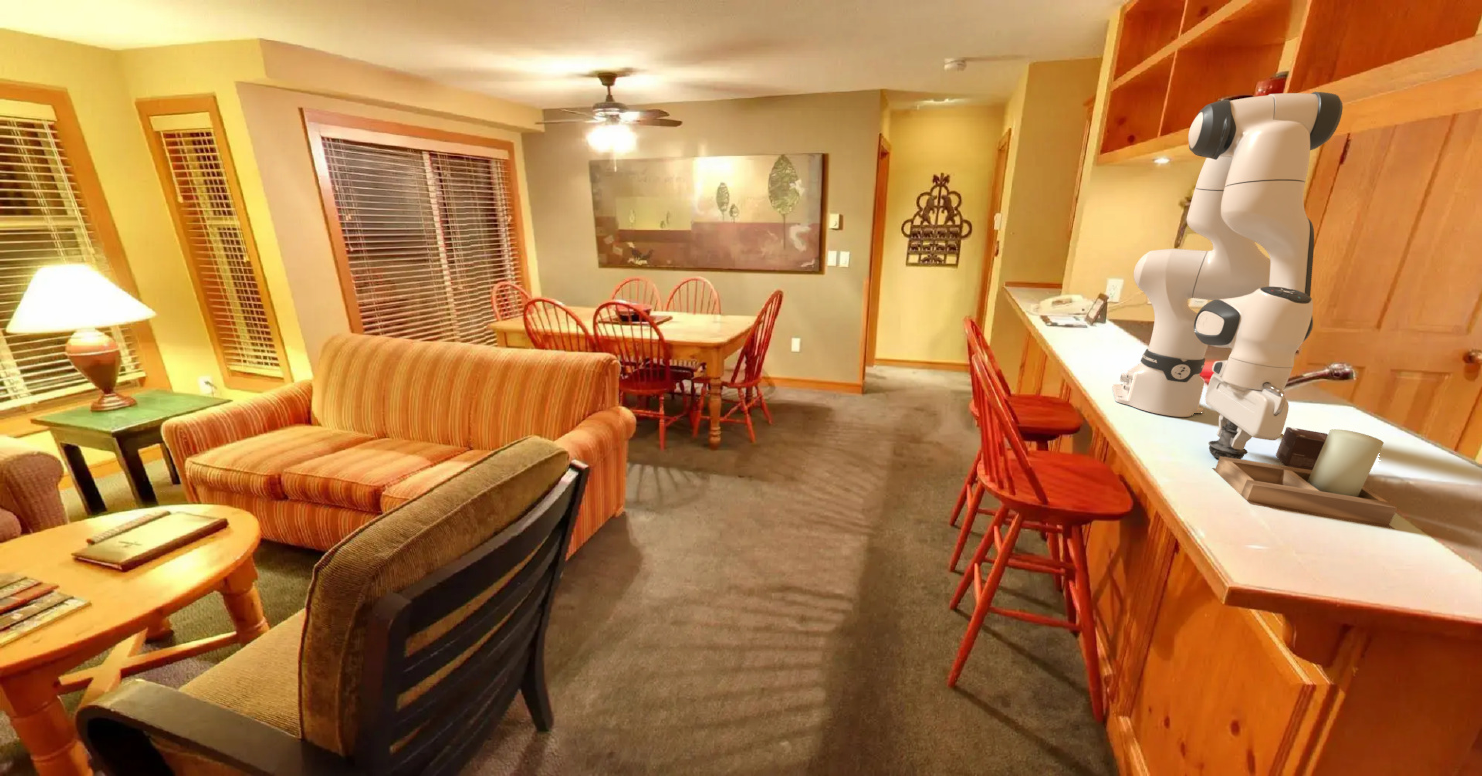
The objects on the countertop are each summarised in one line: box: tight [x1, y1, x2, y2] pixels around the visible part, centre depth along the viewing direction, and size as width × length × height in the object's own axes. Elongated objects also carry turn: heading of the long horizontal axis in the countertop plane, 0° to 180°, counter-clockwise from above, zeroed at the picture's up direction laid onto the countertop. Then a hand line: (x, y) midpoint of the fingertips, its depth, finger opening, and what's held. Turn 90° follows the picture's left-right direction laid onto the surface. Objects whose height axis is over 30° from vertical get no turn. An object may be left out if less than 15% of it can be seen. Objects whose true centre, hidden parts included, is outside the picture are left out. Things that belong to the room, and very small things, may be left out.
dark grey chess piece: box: [1208, 420, 1248, 460], centre depth 104 cm, size 6×6×12 cm
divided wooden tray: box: [1211, 456, 1398, 530], centre depth 92 cm, size 14×18×4 cm
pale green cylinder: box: [1307, 428, 1385, 497], centre depth 89 cm, size 6×6×12 cm
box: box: [1275, 426, 1329, 470], centre depth 104 cm, size 6×6×7 cm
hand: (1229, 442), depth 104 cm, fingers closed on dark grey chess piece, 3 cm apart
